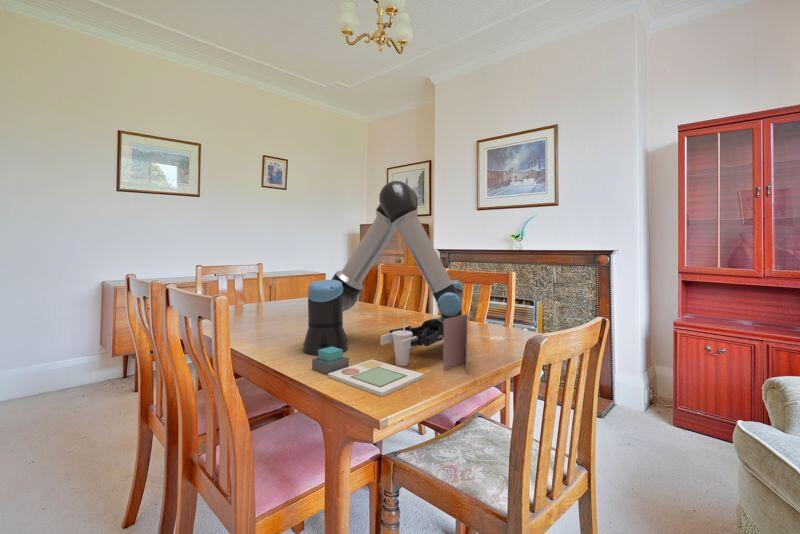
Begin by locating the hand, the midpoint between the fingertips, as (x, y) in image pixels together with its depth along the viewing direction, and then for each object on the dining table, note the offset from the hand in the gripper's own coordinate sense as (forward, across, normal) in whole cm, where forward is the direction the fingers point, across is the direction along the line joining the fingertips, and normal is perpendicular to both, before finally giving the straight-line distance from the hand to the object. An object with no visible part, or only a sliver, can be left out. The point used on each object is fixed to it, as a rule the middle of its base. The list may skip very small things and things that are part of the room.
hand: (391, 342), depth 110 cm
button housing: (+12, +13, -8) cm, 19 cm away
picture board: (+9, -2, -8) cm, 12 cm away
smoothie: (-5, 0, -8) cm, 9 cm away
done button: (+12, +13, -5) cm, 18 cm away
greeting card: (-14, -16, -8) cm, 23 cm away
